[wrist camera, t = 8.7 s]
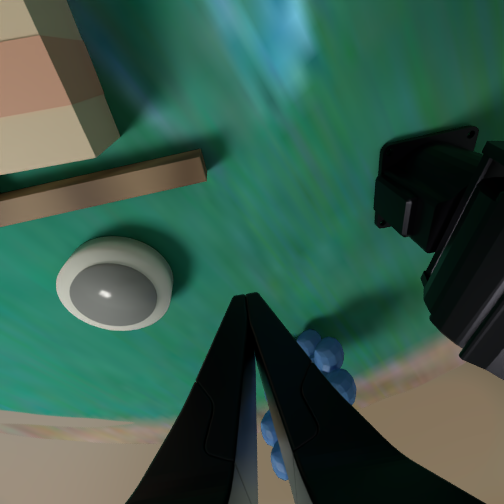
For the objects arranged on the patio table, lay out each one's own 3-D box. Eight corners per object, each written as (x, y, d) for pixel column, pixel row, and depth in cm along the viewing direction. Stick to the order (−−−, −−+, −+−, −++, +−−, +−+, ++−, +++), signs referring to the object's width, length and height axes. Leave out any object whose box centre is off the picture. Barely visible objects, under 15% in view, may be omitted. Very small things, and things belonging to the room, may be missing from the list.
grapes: (285, 382, 35) (314, 511, 25) (239, 368, 32) (252, 507, 22) (354, 325, 30) (423, 457, 20) (307, 303, 27) (361, 442, 17)
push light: (151, 225, 21) (145, 243, 19) (186, 301, 25) (183, 322, 23) (45, 249, 21) (28, 269, 19) (99, 320, 25) (89, 343, 23)
